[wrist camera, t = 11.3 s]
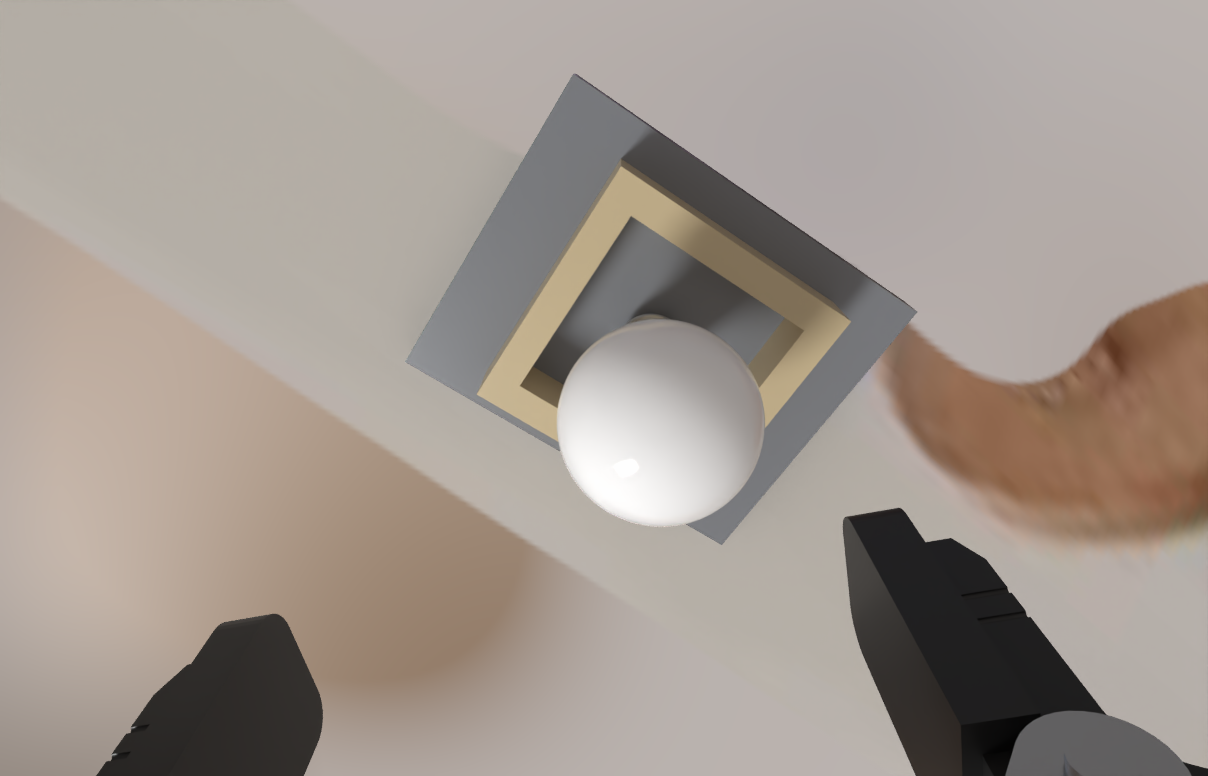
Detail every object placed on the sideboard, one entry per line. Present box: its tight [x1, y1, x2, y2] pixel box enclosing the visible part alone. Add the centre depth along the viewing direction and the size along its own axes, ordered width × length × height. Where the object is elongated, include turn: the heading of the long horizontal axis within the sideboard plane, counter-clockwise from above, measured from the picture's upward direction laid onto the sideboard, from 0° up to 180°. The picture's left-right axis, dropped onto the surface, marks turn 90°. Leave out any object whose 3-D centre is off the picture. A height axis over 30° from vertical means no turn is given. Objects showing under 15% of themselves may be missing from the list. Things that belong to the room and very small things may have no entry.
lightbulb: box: [557, 314, 765, 527], centre depth 26 cm, size 6×6×11 cm
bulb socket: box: [405, 74, 917, 545], centre depth 30 cm, size 16×13×4 cm
